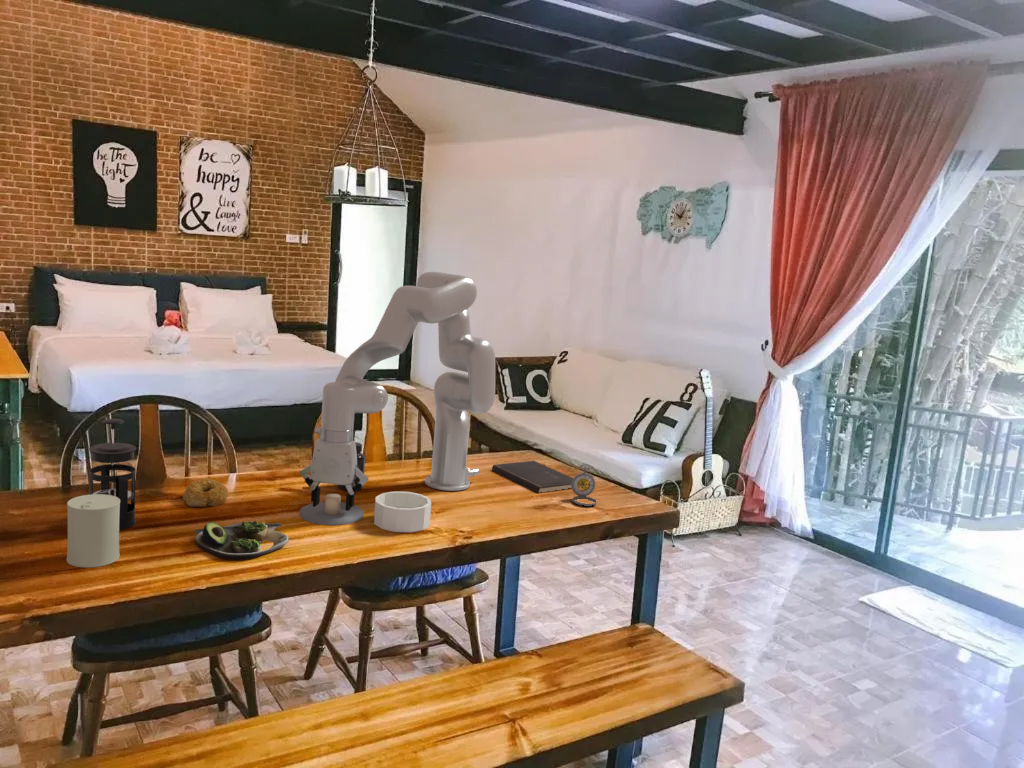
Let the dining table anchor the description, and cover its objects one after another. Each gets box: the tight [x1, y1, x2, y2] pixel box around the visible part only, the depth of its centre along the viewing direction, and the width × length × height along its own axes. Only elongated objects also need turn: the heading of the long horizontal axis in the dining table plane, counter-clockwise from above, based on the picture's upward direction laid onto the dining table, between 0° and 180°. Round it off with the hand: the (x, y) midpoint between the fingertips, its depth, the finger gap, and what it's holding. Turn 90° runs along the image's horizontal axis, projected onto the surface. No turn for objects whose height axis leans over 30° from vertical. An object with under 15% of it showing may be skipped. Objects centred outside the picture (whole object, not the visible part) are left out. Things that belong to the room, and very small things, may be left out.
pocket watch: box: [571, 463, 598, 507], centre depth 222 cm, size 8×8×10 cm
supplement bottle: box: [337, 441, 366, 492], centre depth 215 cm, size 7×7×12 cm
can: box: [66, 494, 121, 569], centre depth 157 cm, size 9×9×12 cm
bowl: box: [373, 491, 432, 533], centre depth 193 cm, size 13×13×6 cm
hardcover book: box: [491, 460, 579, 494], centre depth 241 cm, size 16×23×2 cm
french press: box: [88, 418, 137, 531], centre depth 174 cm, size 12×9×23 cm
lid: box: [299, 493, 365, 526], centre depth 194 cm, size 15×15×5 cm
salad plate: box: [192, 520, 289, 561], centre depth 173 cm, size 19×18×5 cm
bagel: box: [182, 478, 228, 508], centre depth 195 cm, size 10×11×5 cm
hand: (332, 506), depth 194 cm, fingers open, 7 cm apart
